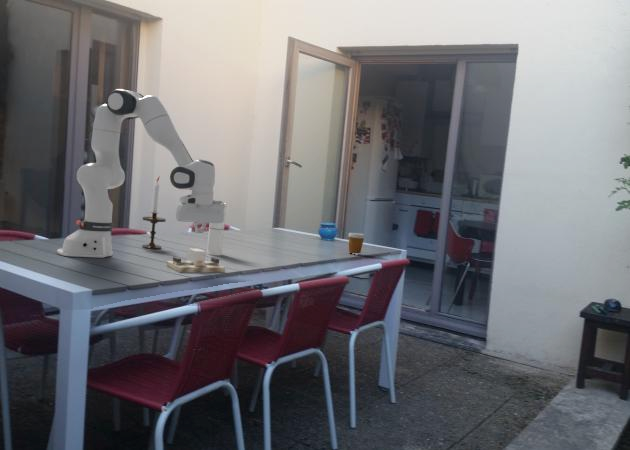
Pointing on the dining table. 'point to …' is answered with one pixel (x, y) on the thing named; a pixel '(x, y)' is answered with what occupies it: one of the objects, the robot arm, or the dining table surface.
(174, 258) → the board
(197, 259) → the module
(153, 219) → the candlestick
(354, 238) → the glass of beer
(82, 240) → the robot arm
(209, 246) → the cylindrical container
